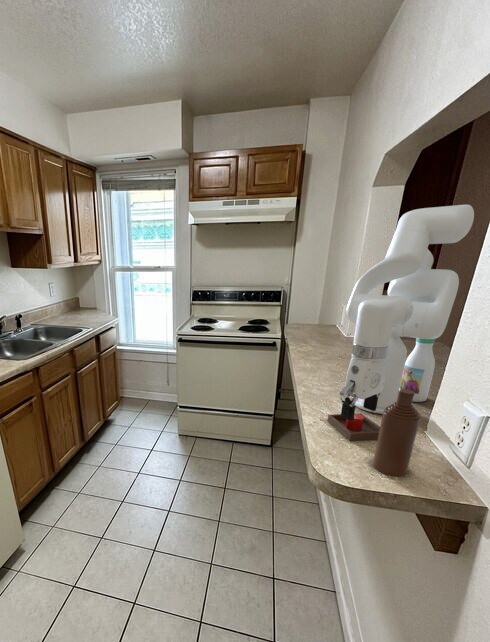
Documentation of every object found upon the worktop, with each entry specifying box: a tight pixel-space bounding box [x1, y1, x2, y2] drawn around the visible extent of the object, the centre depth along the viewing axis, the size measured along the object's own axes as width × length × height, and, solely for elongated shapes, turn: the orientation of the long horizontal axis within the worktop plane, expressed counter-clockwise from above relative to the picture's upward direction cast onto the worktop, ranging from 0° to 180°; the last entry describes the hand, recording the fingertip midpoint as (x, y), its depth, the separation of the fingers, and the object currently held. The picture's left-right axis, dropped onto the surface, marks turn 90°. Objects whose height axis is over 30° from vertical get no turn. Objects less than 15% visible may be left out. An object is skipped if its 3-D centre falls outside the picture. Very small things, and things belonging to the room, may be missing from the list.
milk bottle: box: [399, 338, 436, 403], centre depth 110 cm, size 8×8×20 cm
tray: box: [326, 412, 380, 442], centre depth 94 cm, size 11×9×2 cm
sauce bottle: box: [372, 389, 421, 477], centre depth 74 cm, size 6×6×18 cm
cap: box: [345, 412, 364, 430], centre depth 94 cm, size 4×4×3 cm
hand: (358, 413), depth 93 cm, fingers open, 9 cm apart
